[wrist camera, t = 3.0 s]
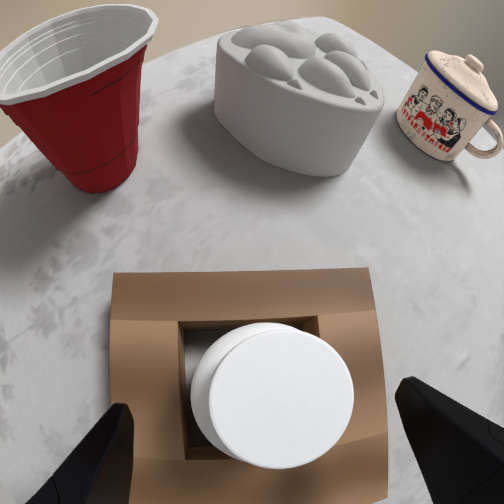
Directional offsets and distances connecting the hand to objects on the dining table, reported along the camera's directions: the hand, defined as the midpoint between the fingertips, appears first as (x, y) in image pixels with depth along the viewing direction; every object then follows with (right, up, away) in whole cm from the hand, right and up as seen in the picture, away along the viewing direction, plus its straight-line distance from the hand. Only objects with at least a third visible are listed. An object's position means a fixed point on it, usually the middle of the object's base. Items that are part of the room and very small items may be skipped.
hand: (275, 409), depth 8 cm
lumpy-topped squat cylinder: (+3, +16, +17) cm, 23 cm away
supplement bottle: (-1, -3, +8) cm, 8 cm away
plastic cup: (-12, +12, +13) cm, 21 cm away
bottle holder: (-1, -3, +8) cm, 8 cm away
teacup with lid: (+20, +17, +19) cm, 33 cm away
